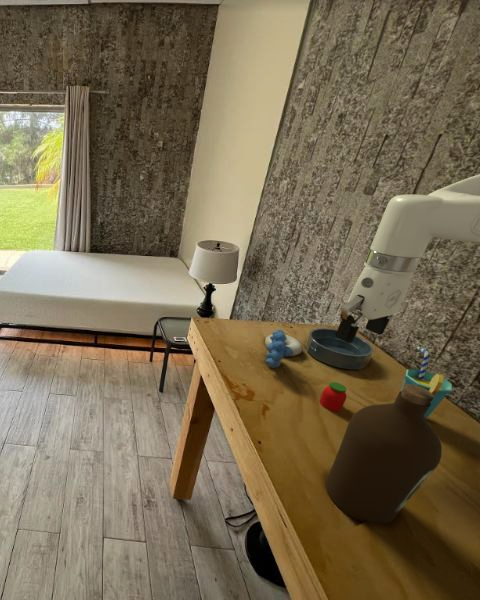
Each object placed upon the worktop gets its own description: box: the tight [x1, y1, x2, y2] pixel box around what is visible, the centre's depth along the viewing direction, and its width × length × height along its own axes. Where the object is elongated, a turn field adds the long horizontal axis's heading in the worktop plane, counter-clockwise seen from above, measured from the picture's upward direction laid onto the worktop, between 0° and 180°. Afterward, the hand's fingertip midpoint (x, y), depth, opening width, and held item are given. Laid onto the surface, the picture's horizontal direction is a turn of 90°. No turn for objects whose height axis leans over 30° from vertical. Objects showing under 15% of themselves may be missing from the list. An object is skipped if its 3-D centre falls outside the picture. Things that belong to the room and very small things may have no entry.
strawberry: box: [319, 381, 347, 412], centre depth 76 cm, size 4×4×6 cm
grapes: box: [265, 329, 293, 368], centre depth 89 cm, size 12×7×12 cm, turn 152°
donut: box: [264, 333, 303, 357], centre depth 99 cm, size 10×4×10 cm
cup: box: [400, 346, 453, 420], centre depth 72 cm, size 14×8×15 cm, turn 156°
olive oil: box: [325, 384, 442, 524], centre depth 51 cm, size 11×11×25 cm
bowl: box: [304, 327, 375, 370], centre depth 95 cm, size 15×15×5 cm
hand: (358, 335), depth 69 cm, fingers open, 9 cm apart
